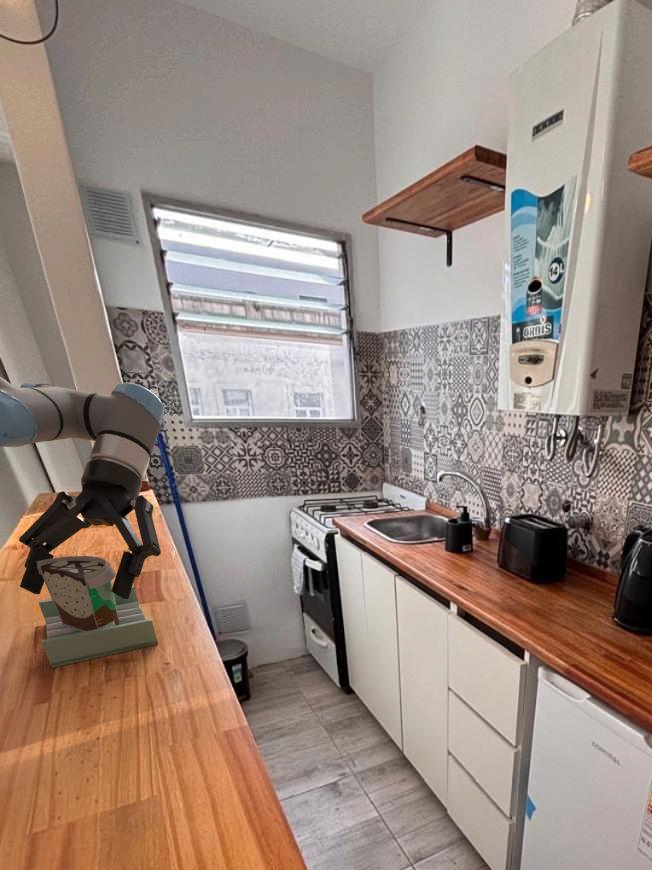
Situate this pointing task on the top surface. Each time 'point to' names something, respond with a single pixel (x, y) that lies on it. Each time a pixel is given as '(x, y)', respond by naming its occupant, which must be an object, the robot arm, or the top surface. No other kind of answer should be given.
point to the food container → (81, 591)
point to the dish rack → (97, 634)
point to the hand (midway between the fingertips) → (74, 593)
